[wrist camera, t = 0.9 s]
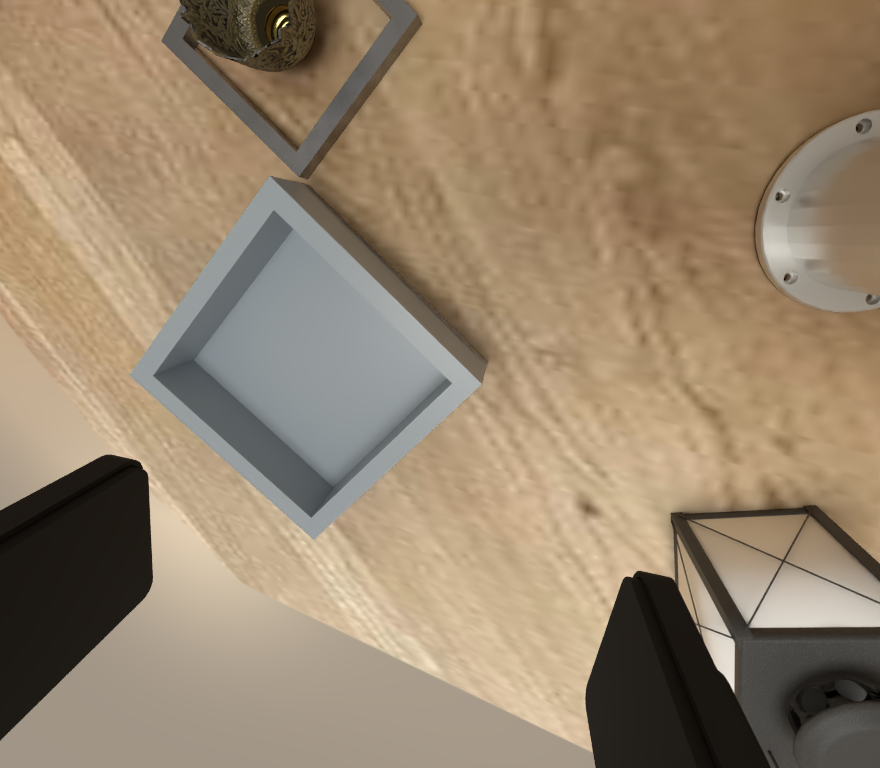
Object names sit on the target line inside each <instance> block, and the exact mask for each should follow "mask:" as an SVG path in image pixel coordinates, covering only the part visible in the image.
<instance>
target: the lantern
mask: <svg viewBox="0 0 880 768" xmlns="http://www.w3.org/2000/svg"><path fill="white" fill-rule="evenodd" d="M671 523H672V525H673V529H674V555H675V583H676V585H677V587H678V589H679V591H680V593H681V595H682V597H683V599H684V602H685V604H686V606H687V608H688V610H689V612H690V614H691V616H692V618H693V620H694V622H695V624H696V626H697V628H698V631H699V633H700V635H701V637H702V639H703V641H704V643H705V645H706V647H707V649H708V651H709V653H710V655H711V657H712V660H713V662H714V664H715V666H716V668H717V670H719V671H720V672H721V673H722V674H723V675H724V676H725V678H726V679H727V681H728V682H729V684H730V686H731V688H732V690H733V692H734V694H735V696H736V698H737V700H738V702H739V704H740V706H741V708H742V710H743V712H744V714H745V716H746V718H747V720H748V722H749V724H750V726H751V728H752V730H753V732H754V734H755V736H756V738H757V740H758V742H759V744H760V746H761V748H762V750H763V752H764V754H765V756H766V758H767V760H768V762H769V765H770V767H771V768H880V564H879V563H878V562H877V561H876V560H875V559H874V558H873V557H872V556H871V555H870V554H868V553H867V552H866V551H865V550H864V549H863V548H862V547H861V546H860V545H859V544H858V543H856V542H855V541H854V540H853V539H852V538H851V537H850V536H849V535H848V534H847V533H846V532H844V531H843V530H842V529H841V528H840V527H839V526H838V525H837V524H836V523H835V522H833V521H832V520H831V519H830V518H829V517H828V516H827V515H826V514H825V513H824V512H823V511H821V510H820V509H819V508H818V507H817V506H816V505H815V506H804V508H795V509H775V510H756V511H736V512H717V513H697V514H683V513H682V512H681V513H671Z"/></svg>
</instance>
